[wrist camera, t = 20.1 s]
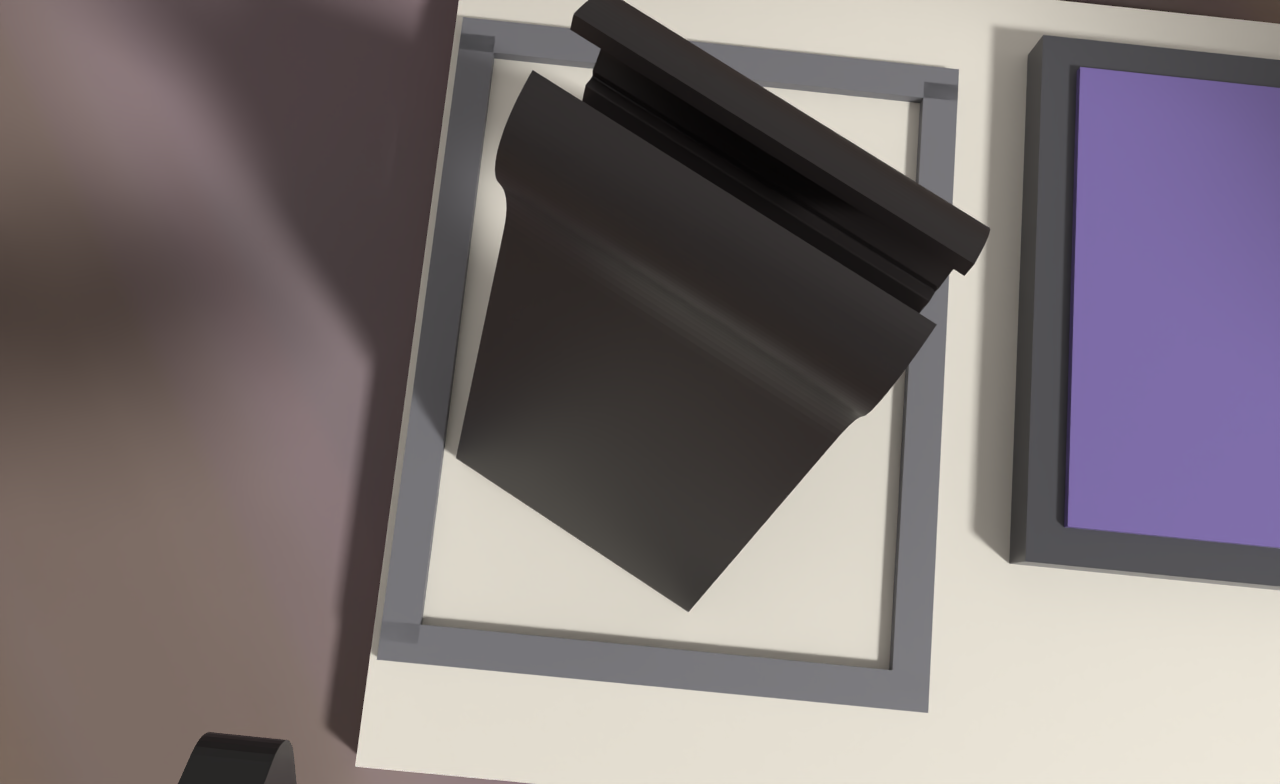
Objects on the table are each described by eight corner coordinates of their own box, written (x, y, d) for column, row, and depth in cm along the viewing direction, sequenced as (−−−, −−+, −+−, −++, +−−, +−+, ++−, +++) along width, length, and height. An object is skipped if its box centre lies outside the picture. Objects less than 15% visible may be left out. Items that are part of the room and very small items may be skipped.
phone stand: (681, 138, 28) (743, -220, 16) (901, 278, 27) (1133, 17, 15) (456, 459, 26) (339, 326, 14) (685, 613, 26) (760, 607, 14)
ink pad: (1443, 99, 29) (1479, 76, 27) (1460, 608, 26) (1501, 607, 25) (1027, 54, 28) (1046, 30, 27) (1009, 564, 26) (1028, 561, 25)
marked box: (955, 75, 28) (959, 69, 28) (924, 711, 25) (928, 712, 25) (464, 23, 28) (463, 16, 28) (379, 659, 25) (376, 660, 25)
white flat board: (1433, 62, 30) (1460, 43, 29) (1459, 864, 26) (1492, 874, 25) (471, -40, 29) (467, -63, 28) (363, 760, 26) (354, 766, 25)
